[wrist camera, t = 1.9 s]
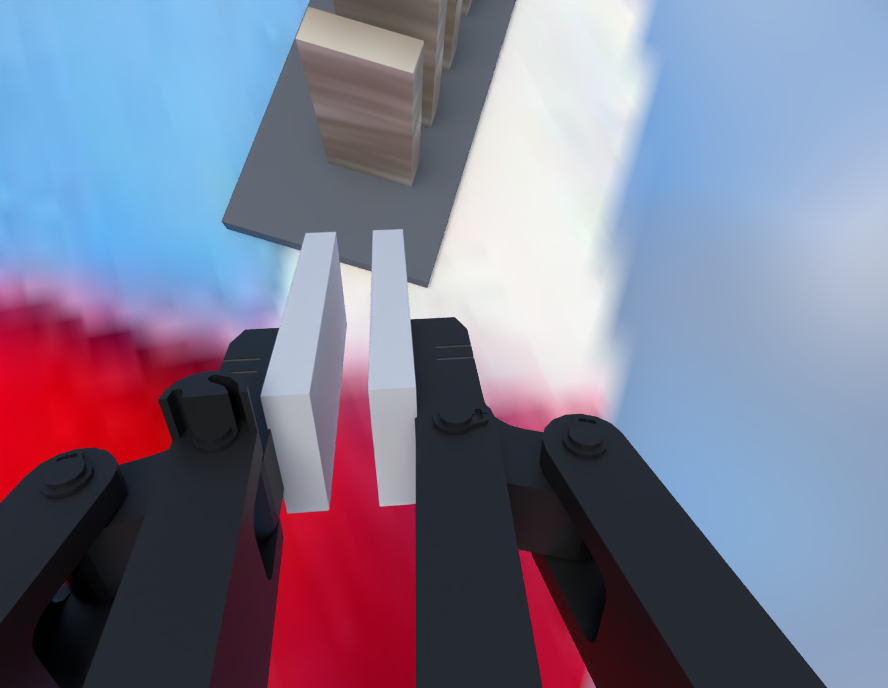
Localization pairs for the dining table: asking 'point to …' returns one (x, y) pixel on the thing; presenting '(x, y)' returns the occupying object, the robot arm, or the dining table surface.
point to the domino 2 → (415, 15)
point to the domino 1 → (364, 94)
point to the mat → (357, 194)
